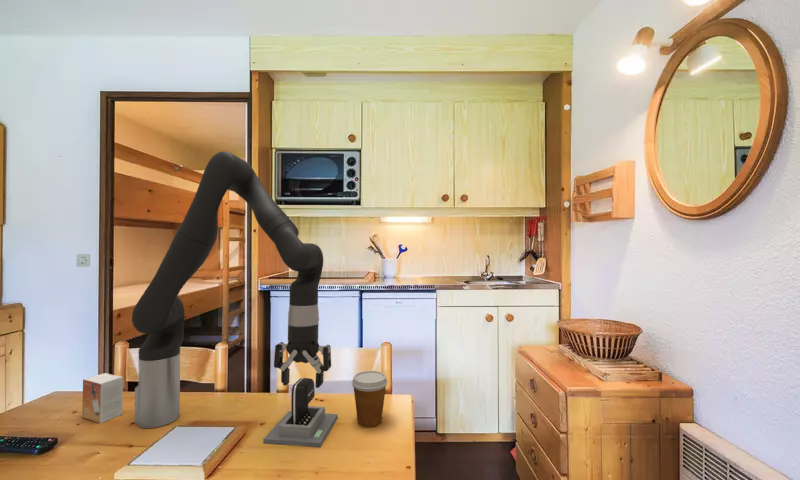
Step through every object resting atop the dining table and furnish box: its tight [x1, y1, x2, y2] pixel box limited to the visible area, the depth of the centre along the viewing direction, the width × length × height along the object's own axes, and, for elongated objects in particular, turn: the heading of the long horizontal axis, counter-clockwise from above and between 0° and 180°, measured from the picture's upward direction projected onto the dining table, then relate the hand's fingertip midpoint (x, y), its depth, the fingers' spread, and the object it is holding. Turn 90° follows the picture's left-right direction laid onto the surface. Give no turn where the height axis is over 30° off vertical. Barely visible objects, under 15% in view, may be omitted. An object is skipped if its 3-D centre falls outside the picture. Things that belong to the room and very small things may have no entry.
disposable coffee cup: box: [351, 370, 388, 429], centre depth 95 cm, size 10×10×12 cm
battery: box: [290, 377, 316, 425], centre depth 91 cm, size 7×4×11 cm, turn 172°
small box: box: [81, 372, 124, 424], centre depth 98 cm, size 8×6×10 cm
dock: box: [262, 405, 339, 448], centre depth 91 cm, size 14×14×4 cm
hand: (302, 385), depth 91 cm, fingers open, 8 cm apart
